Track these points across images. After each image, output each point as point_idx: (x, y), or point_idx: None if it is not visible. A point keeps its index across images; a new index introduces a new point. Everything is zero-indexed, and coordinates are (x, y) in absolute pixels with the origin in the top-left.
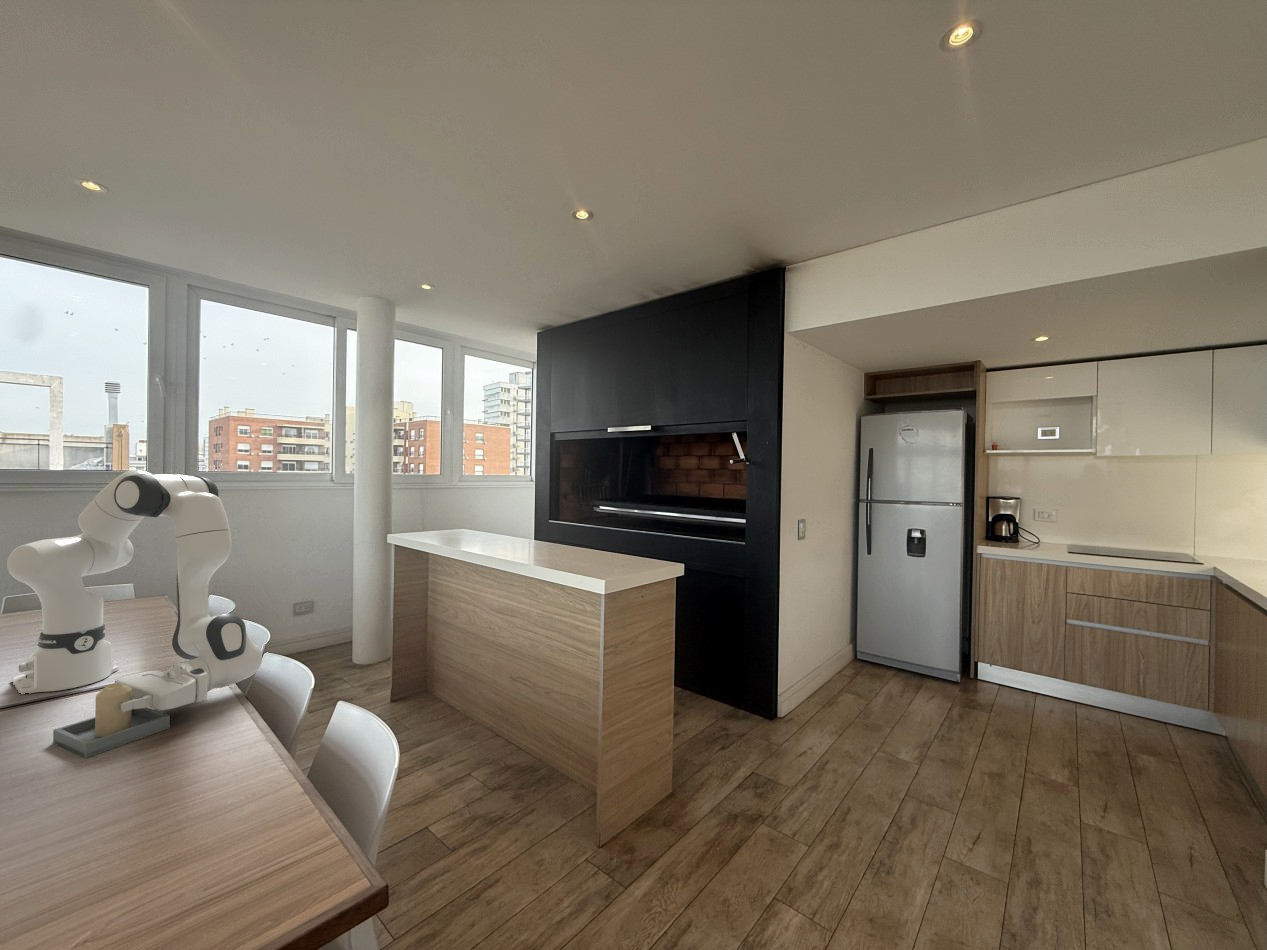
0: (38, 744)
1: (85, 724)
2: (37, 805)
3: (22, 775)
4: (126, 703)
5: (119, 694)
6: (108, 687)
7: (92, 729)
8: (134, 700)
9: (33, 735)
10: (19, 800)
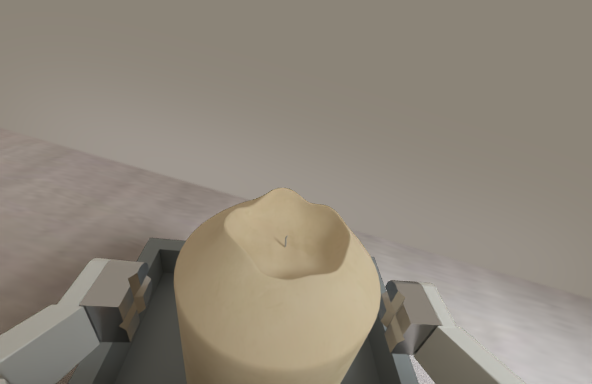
0: (382, 270)
1: (379, 334)
2: (60, 166)
3: (222, 202)
4: (84, 272)
5: (185, 246)
6: (328, 227)
7: (359, 362)
8: (45, 309)
9: (466, 290)
10: (118, 168)
